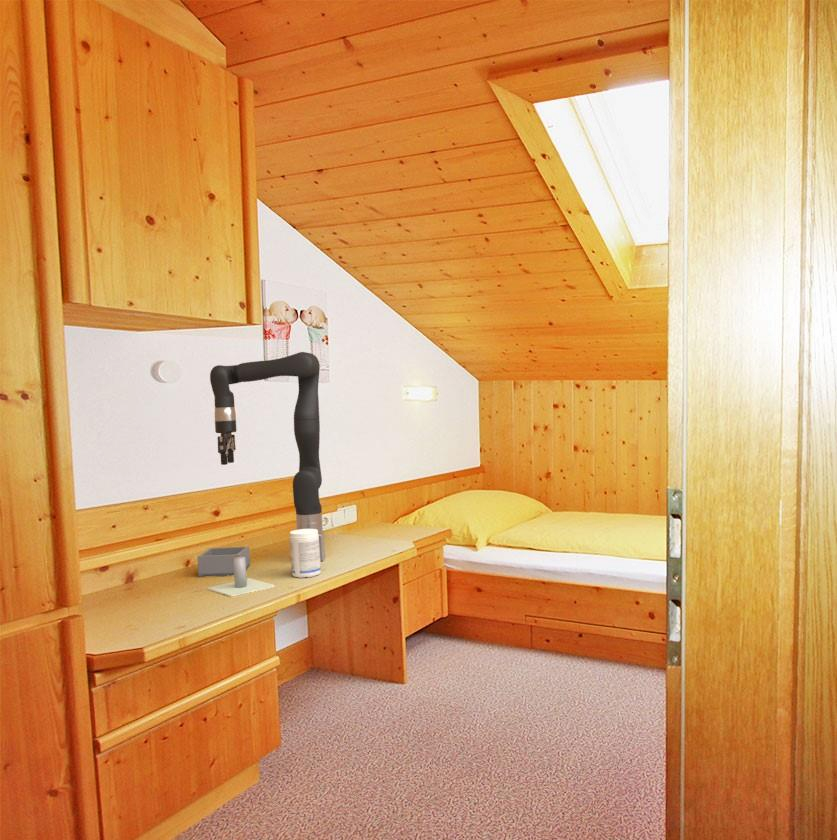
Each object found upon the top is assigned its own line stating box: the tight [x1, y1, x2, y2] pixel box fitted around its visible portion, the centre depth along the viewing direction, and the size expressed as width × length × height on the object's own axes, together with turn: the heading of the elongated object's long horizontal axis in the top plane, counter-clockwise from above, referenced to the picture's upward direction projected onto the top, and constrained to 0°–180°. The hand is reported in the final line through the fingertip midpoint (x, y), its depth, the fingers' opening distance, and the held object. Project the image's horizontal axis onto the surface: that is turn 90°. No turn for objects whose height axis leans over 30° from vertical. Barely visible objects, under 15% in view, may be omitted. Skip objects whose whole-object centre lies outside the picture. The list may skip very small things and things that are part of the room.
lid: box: [206, 557, 276, 597], centre depth 225 cm, size 15×15×10 cm
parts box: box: [197, 546, 251, 578], centre depth 249 cm, size 14×14×7 cm
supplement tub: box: [289, 529, 322, 579], centre depth 239 cm, size 10×10×15 cm
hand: (227, 463), depth 265 cm, fingers open, 8 cm apart
